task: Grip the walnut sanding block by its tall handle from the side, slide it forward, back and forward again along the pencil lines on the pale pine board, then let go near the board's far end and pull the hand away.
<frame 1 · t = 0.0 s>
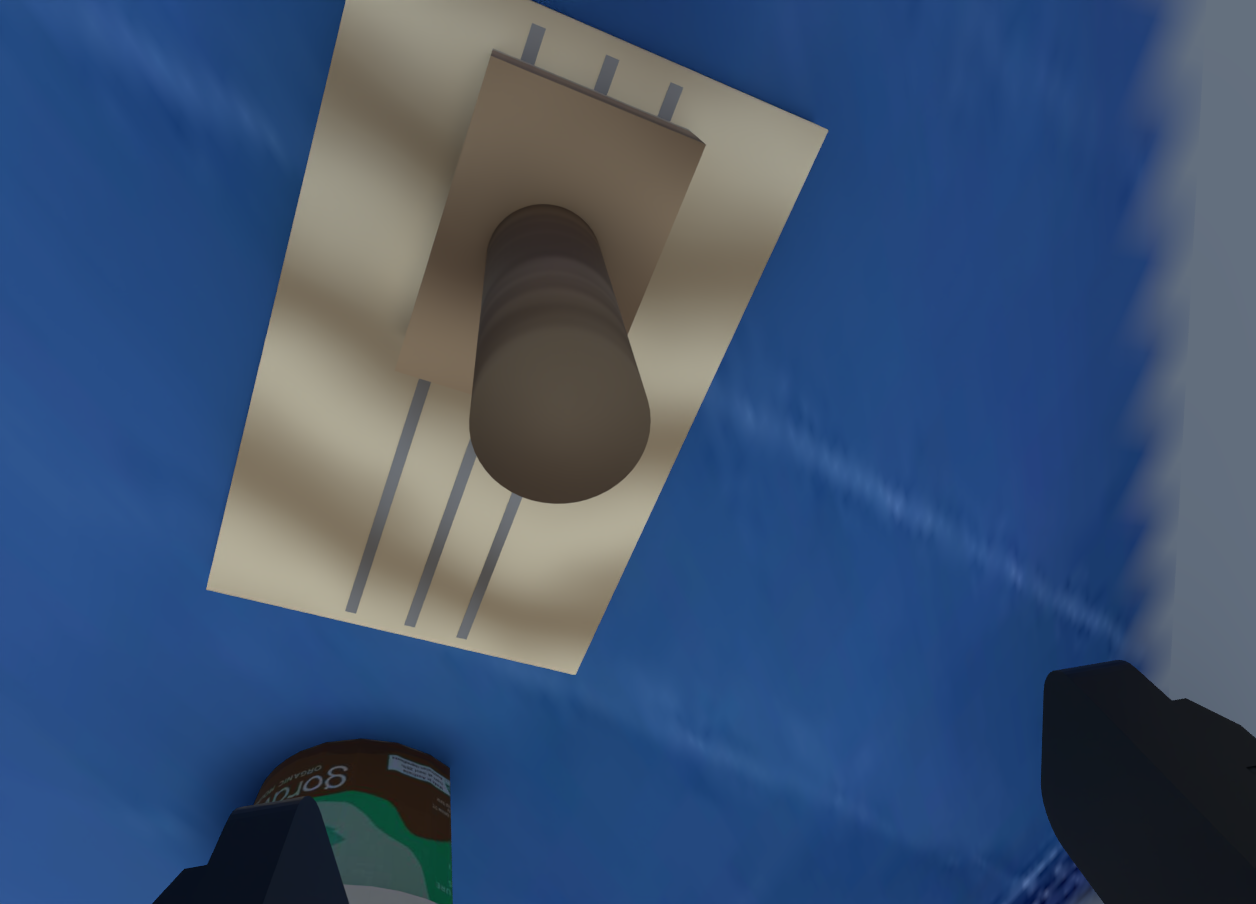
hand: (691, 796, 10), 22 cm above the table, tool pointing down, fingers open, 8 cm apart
pine board: (492, 362, 31), on the table
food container: (320, 779, 39), on the table
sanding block: (541, 236, 28), point 2 cm above the table, touching pine board
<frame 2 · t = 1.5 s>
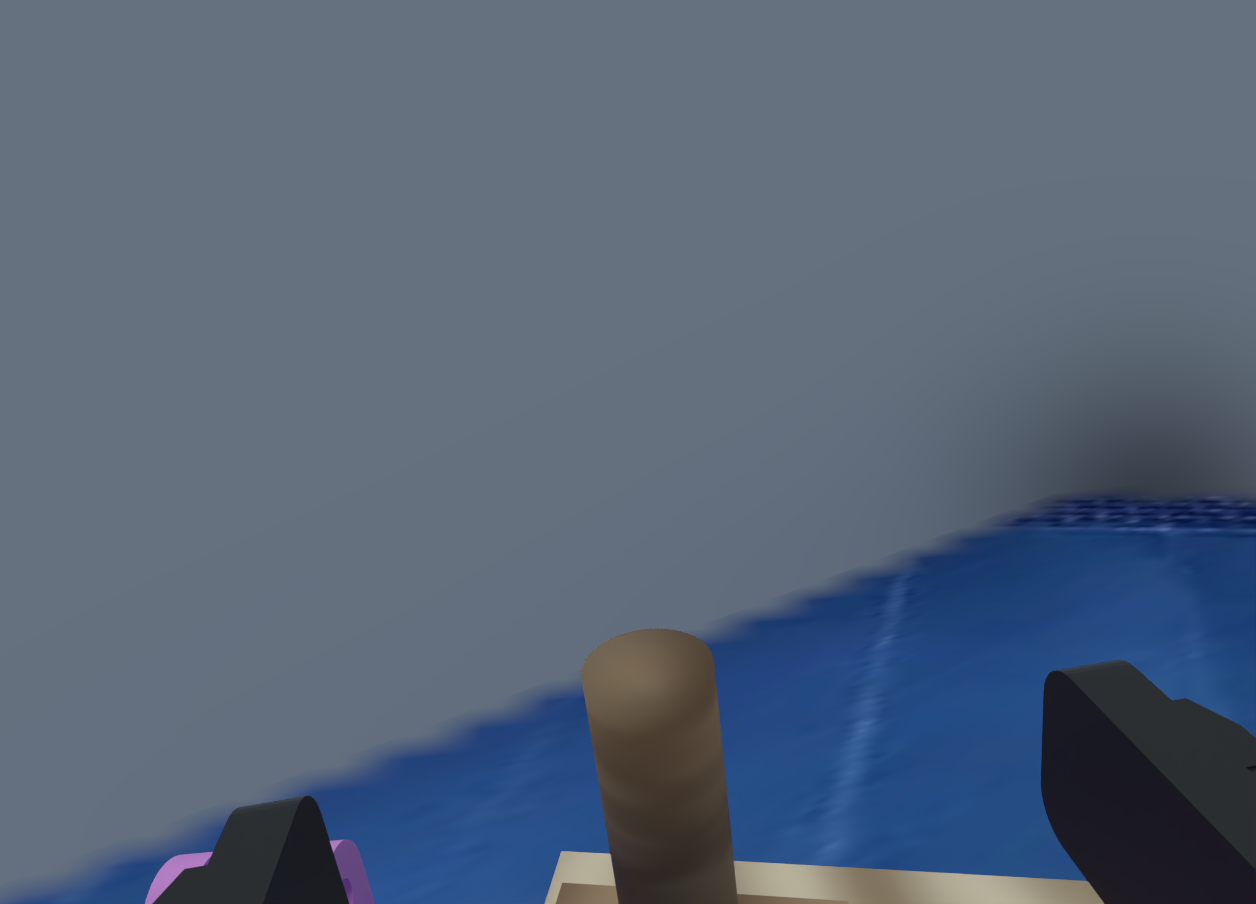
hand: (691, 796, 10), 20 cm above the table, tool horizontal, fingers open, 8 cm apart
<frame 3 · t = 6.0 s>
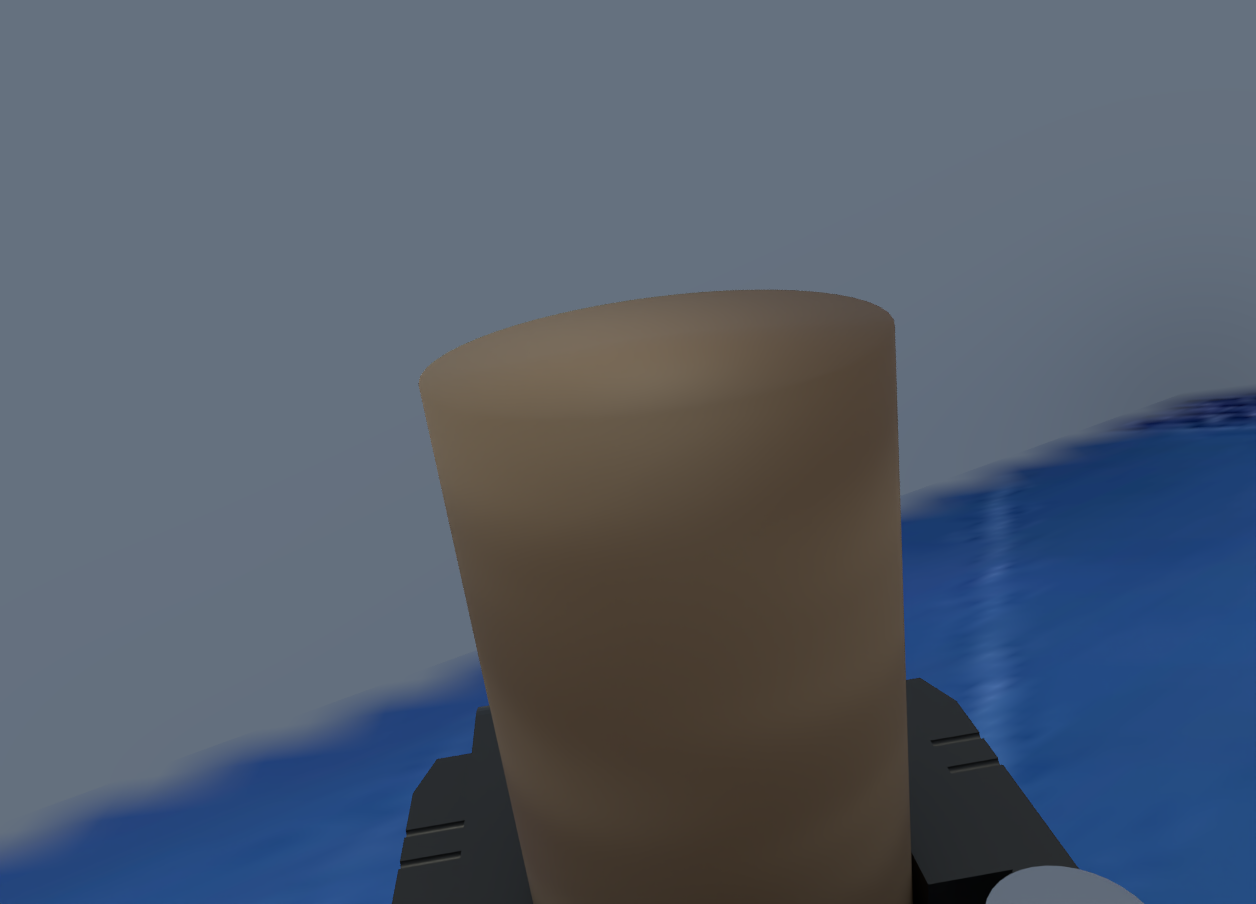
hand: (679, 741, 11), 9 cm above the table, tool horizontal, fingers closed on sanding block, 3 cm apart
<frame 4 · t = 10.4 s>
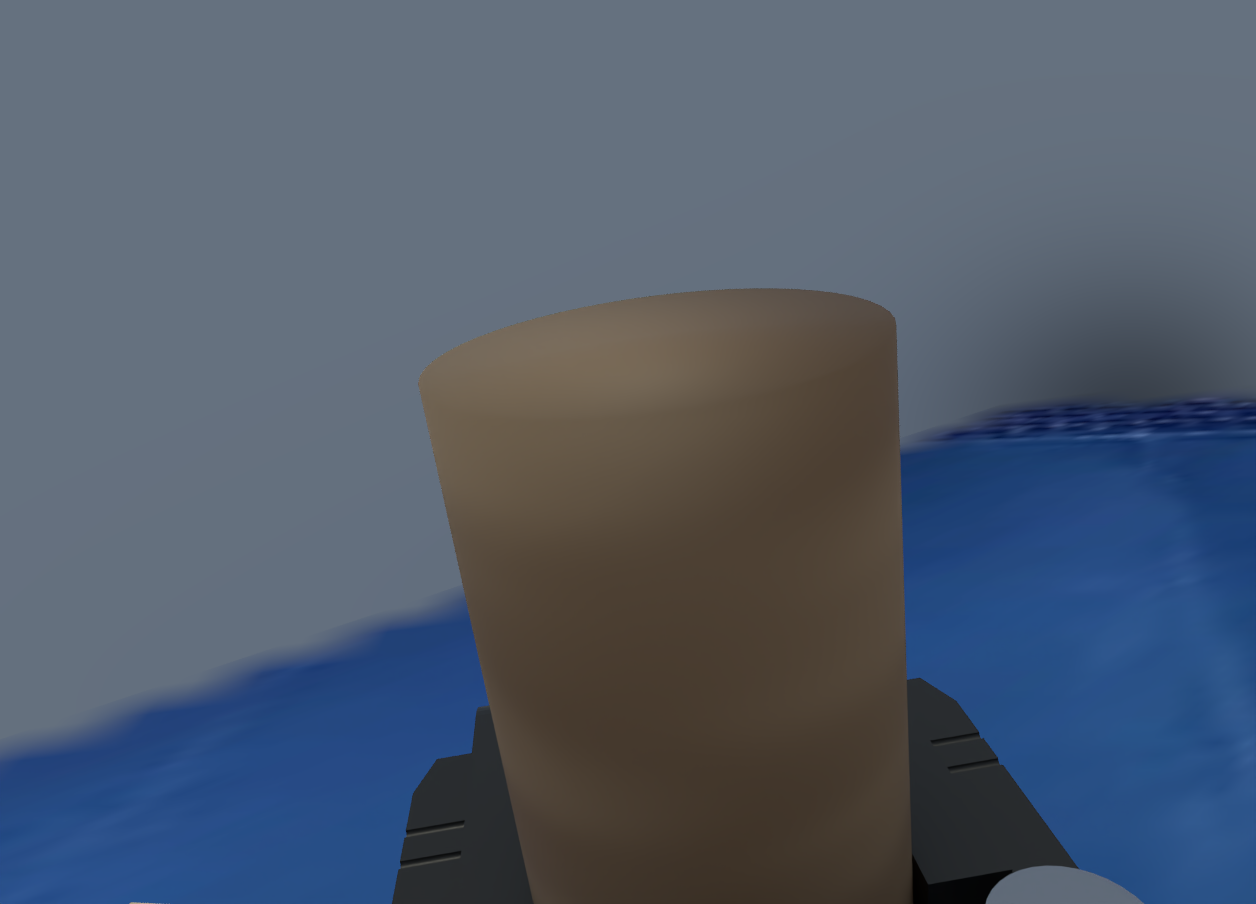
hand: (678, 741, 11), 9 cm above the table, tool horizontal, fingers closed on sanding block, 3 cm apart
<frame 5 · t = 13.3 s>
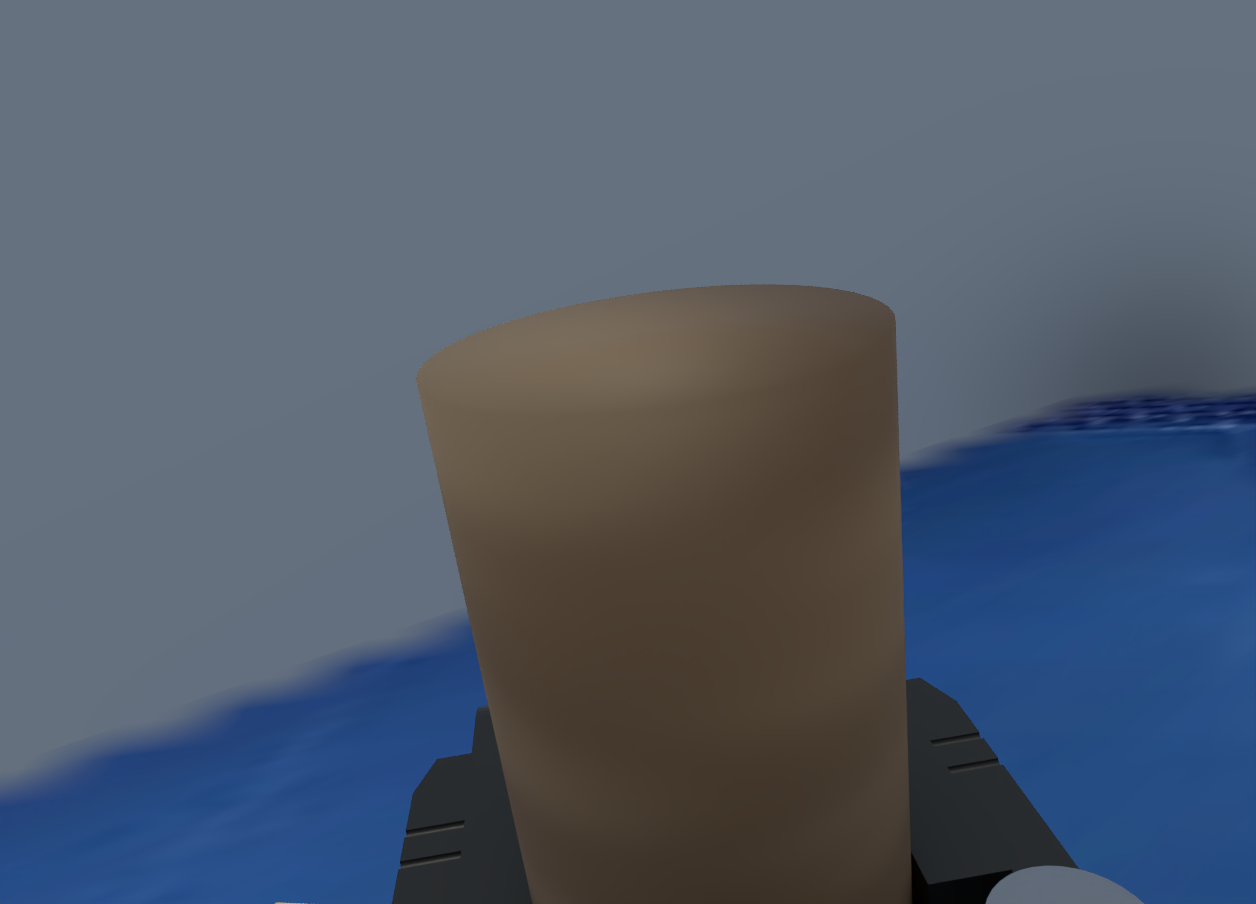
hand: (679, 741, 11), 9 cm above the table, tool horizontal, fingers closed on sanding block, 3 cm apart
when the fingers open (9 cm above the table, at t = 15.2 s): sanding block stays where it is, resting on pine board.
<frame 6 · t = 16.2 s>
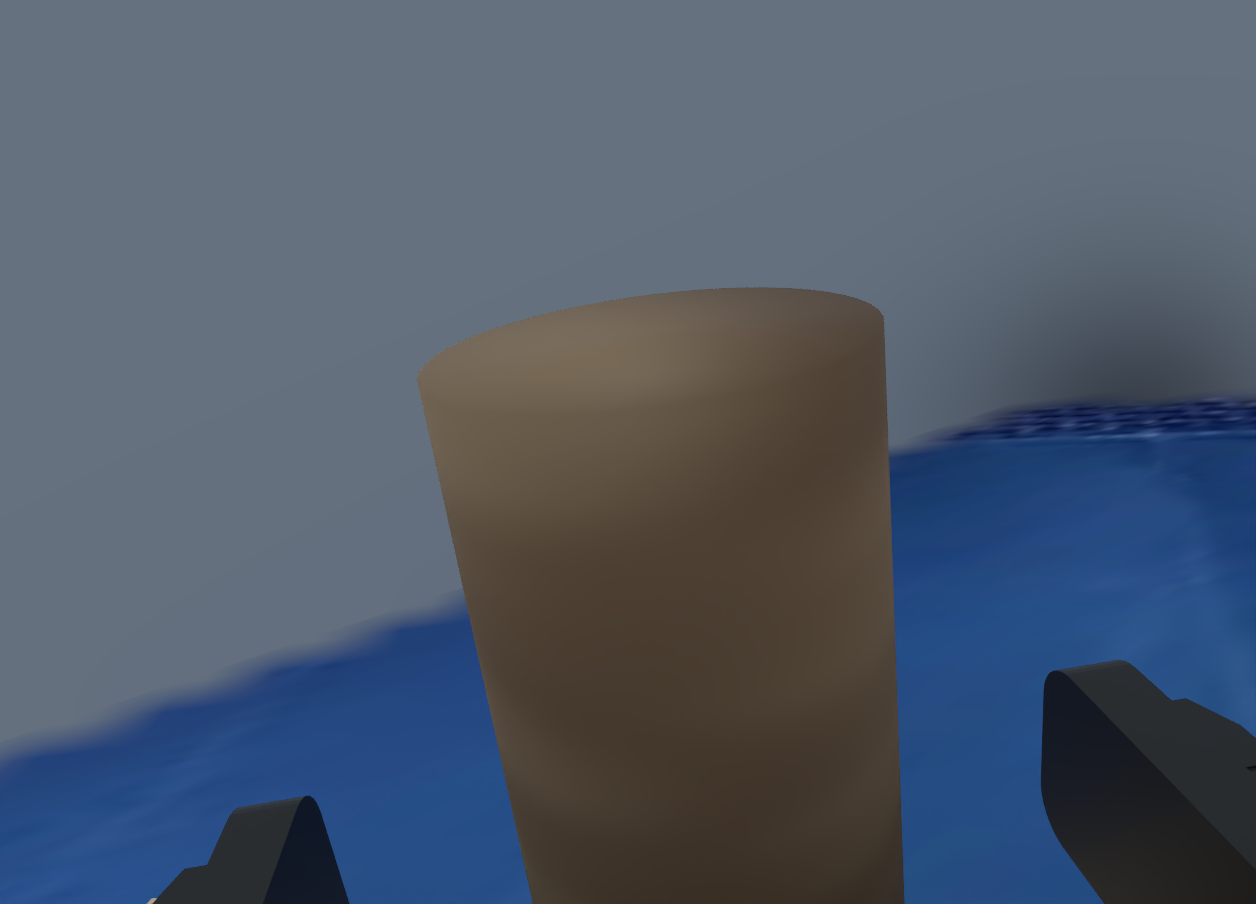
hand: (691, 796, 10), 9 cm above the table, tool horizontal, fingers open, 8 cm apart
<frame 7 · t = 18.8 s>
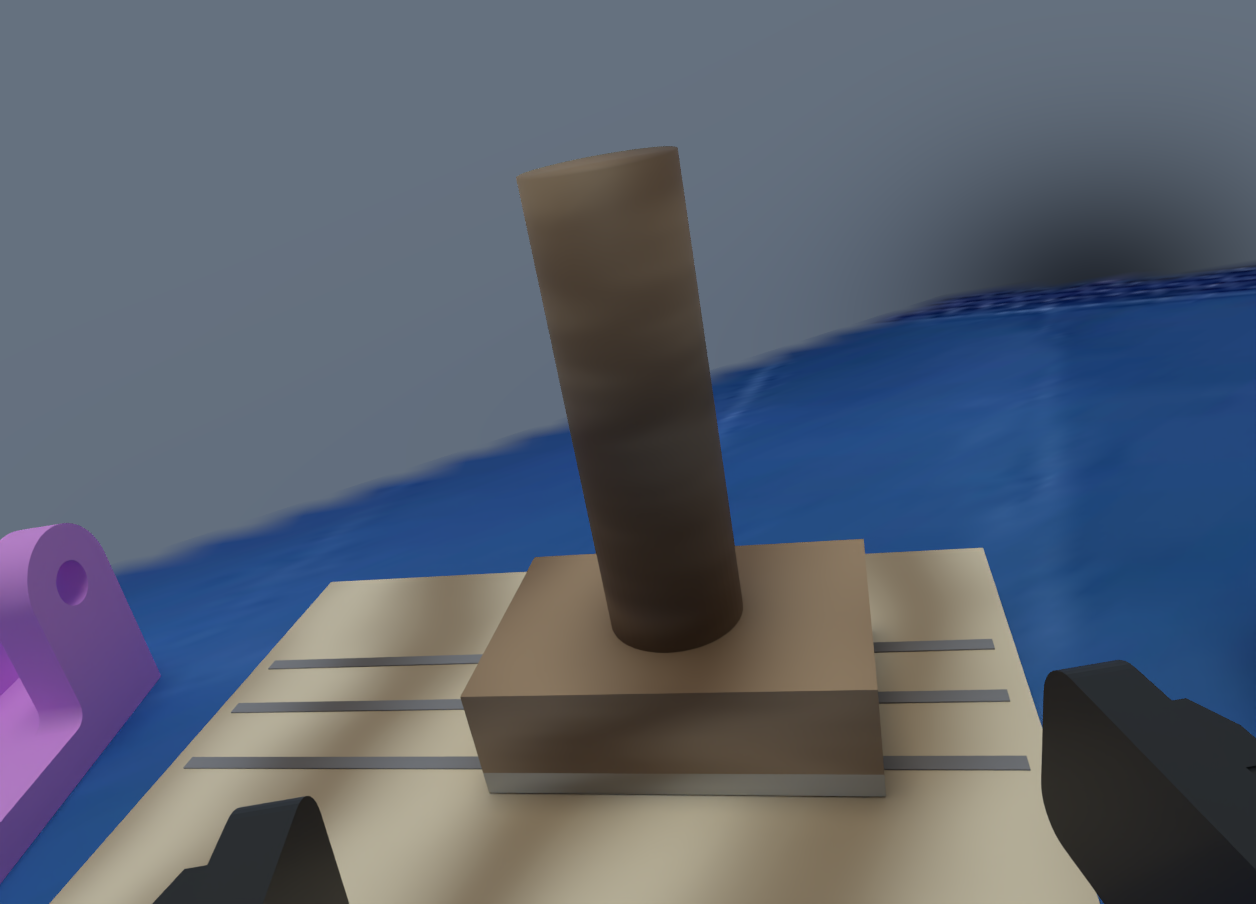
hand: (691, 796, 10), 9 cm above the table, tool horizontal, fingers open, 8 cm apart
pine board: (590, 752, 24), on the table
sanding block: (693, 705, 23), point 2 cm above the table, touching pine board
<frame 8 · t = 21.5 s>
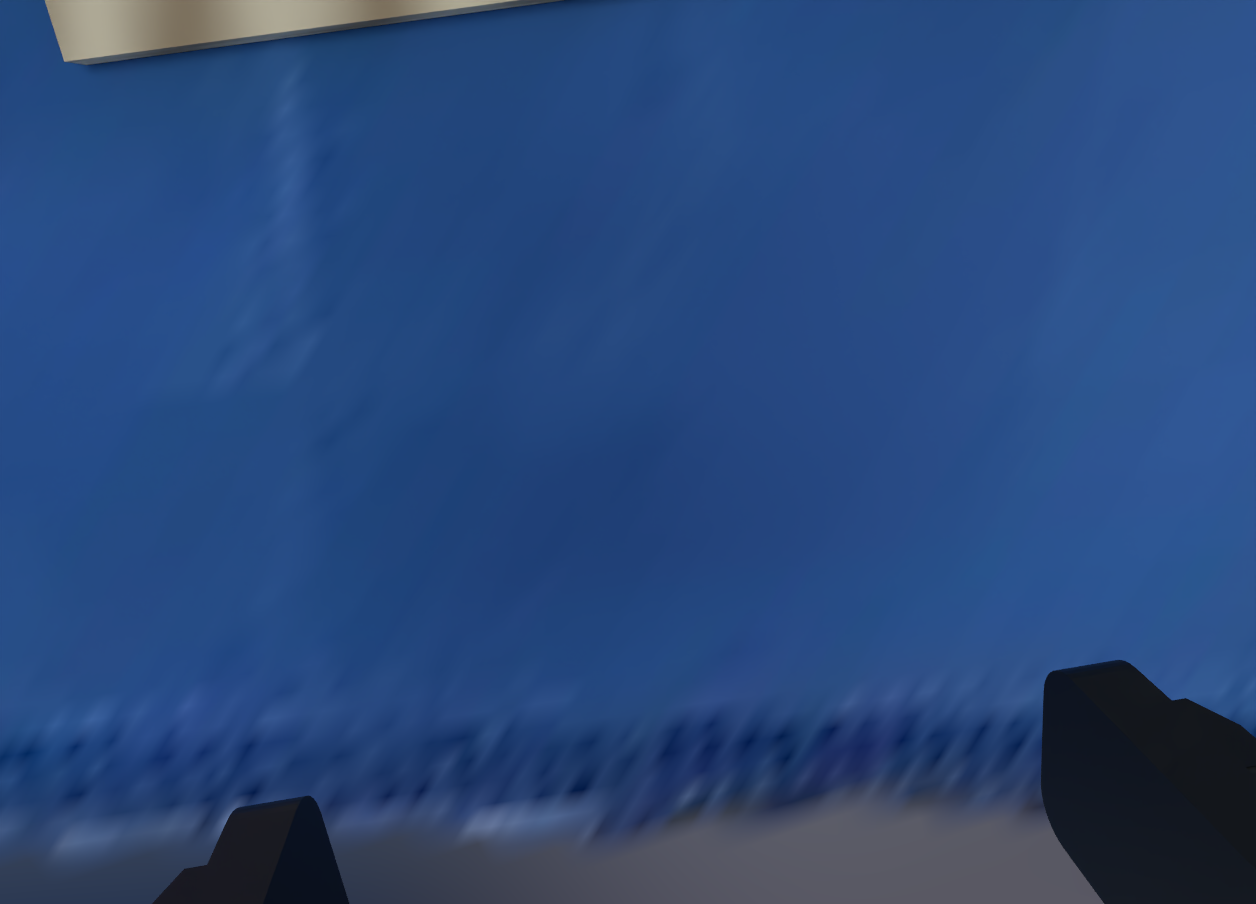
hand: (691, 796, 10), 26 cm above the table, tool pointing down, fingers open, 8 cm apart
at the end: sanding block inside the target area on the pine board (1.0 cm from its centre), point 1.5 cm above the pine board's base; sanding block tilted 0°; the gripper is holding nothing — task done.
